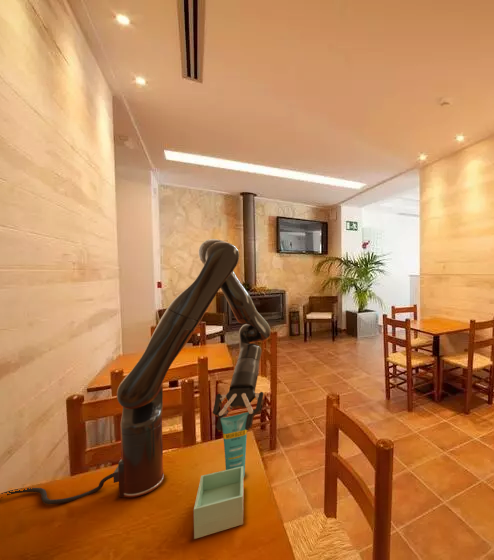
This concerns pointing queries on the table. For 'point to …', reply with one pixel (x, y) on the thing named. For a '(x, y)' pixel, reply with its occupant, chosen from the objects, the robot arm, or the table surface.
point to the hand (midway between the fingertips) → (233, 430)
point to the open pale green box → (219, 502)
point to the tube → (235, 440)
